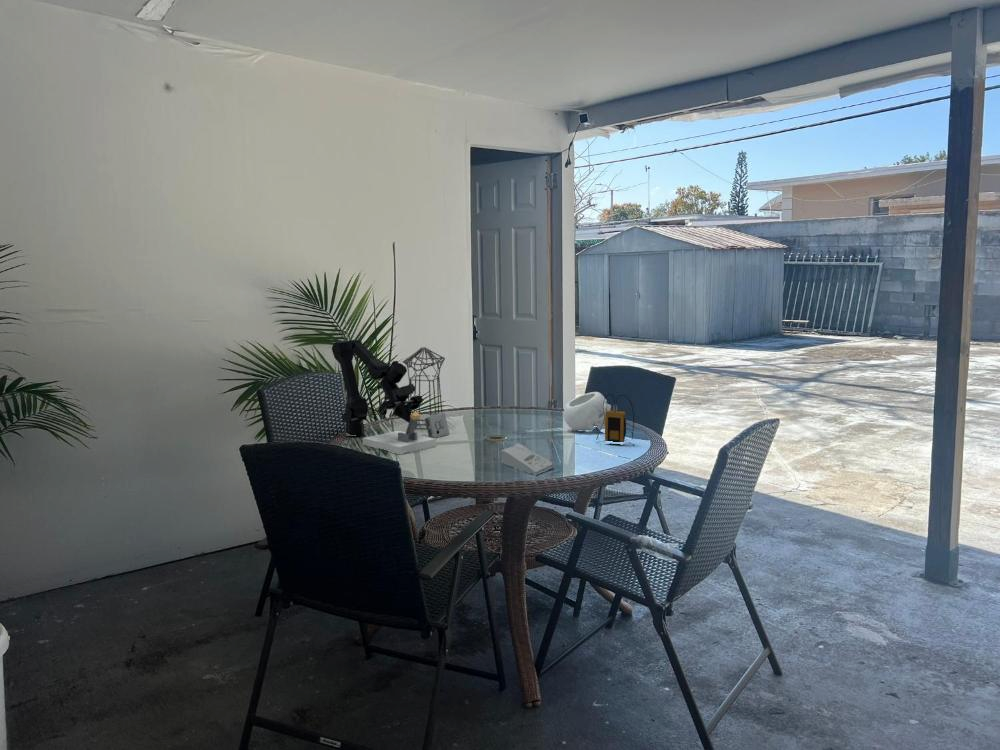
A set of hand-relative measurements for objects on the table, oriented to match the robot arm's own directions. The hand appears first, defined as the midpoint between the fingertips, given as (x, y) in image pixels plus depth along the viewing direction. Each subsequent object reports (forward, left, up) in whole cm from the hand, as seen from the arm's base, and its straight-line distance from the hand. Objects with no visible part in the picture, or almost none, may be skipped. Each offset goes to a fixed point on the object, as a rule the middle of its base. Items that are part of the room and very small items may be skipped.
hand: (411, 422), depth 285 cm
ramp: (+47, -14, -11) cm, 50 cm away
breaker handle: (-2, +1, -7) cm, 7 cm away
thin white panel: (-6, +4, -10) cm, 13 cm away
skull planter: (+62, +48, -11) cm, 79 cm away
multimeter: (+75, +28, -10) cm, 81 cm away
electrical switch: (+2, +24, -10) cm, 26 cm away
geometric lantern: (-8, +38, -10) cm, 40 cm away
